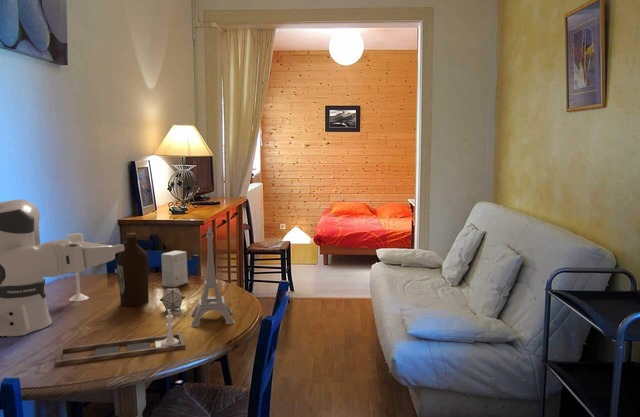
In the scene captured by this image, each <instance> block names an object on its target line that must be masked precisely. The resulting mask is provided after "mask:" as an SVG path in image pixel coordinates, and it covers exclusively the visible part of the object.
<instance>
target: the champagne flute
mask: <svg viewBox="0 0 640 417" xmlns="http://www.w3.org/2000/svg"><path fill="white" fill-rule="evenodd" d="M67 239H68V240H69V241H70V242H77V241H83V242H84V236H83V233H81V232H75V233H68V234H67ZM80 283H81V281H80V272H76V273H75V285H76V286H75V288H76V293H75V294H74V295H73V296H71V297H70V298H69V299H68V300H69V302H81V301H85V300H88V299H90V297H89V296H88V295H85V294H83V293H81V284H80Z"/></svg>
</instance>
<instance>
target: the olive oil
mask: <svg viewBox="0 0 640 417" xmlns="http://www.w3.org/2000/svg"><path fill="white" fill-rule="evenodd" d="M149 264H150V262H149V256H148V253H147V251H146V250H144V249H143V248H142V247H141V246H140V245H139V244H138V238H137V233H136V232H127V233H126V244H125V245H124V251H121V252H118V255H117V258H116V267H117V268H116V269H117V277H118V287H119V297H120V298H119V300H120V305H122V306H123V307H138V306H143V305H145V304H147V303H149V298H150V297H149V296H150V295H149V292H150V291H149V274H150V272H149V267H150V266H149Z"/></svg>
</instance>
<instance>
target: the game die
mask: <svg viewBox="0 0 640 417" xmlns="http://www.w3.org/2000/svg"><path fill="white" fill-rule="evenodd" d="M180 287H181V285H179V286H177V287H172V288H166V286H163V289H164V292H163V294H162V298H159V301H160V302H162V304H163V307H164V309H165V310H164V311H165V313H166V312H168V311H169V309H170V311H171V310H177V309H178V310H180V311H182V308H181V307H182V306H181V305H182V303H183V301H184V299H185V298H186V296H184V295H183V293H182V292H181V290H180Z"/></svg>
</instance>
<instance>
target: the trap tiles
mask: <svg viewBox="0 0 640 417" xmlns="http://www.w3.org/2000/svg"><path fill="white" fill-rule="evenodd" d="M148 348H151V344H150V342H142V343H135V344H127V345H126V351H133V350H141V349H148ZM94 350H95V352H94V356H96V355H103V354H111V353H118V352H120V346H111V347H104V348H96V349H94Z"/></svg>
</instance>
